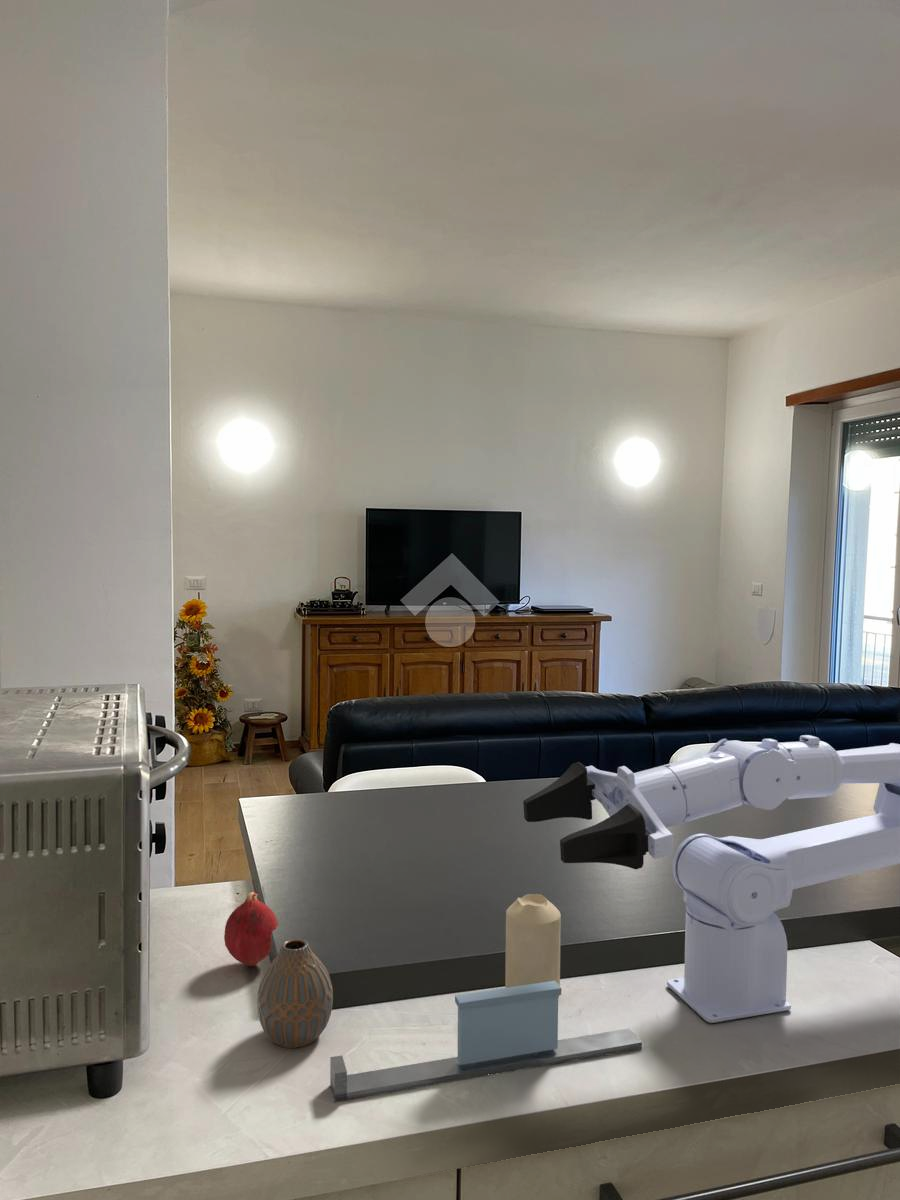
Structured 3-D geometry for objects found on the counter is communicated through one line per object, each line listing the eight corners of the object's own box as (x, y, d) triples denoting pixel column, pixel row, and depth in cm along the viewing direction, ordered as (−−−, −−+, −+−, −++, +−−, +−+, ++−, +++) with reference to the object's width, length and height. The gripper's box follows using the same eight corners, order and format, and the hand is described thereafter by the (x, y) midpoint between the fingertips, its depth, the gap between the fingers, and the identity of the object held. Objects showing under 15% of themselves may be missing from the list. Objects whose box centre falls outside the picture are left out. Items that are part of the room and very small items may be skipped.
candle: (557, 1011, 86) (558, 912, 85) (501, 1005, 87) (502, 907, 86) (561, 984, 91) (562, 890, 90) (509, 979, 92) (510, 886, 91)
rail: (629, 1034, 82) (629, 1009, 81) (641, 1048, 79) (642, 1023, 79) (330, 1084, 74) (330, 1057, 74) (334, 1101, 71) (334, 1073, 71)
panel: (554, 1040, 79) (555, 980, 79) (560, 1049, 78) (561, 988, 77) (454, 1057, 76) (455, 995, 76) (459, 1066, 75) (459, 1003, 75)
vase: (328, 1012, 85) (328, 924, 85) (336, 1052, 79) (336, 957, 78) (256, 1021, 84) (255, 931, 83) (258, 1062, 77) (257, 965, 76)
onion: (279, 976, 92) (279, 902, 92) (223, 981, 91) (222, 906, 91) (278, 951, 98) (278, 881, 98) (225, 956, 97) (224, 885, 96)
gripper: (628, 729, 90) (508, 759, 86) (715, 791, 77) (578, 830, 73) (630, 789, 92) (512, 821, 88) (715, 861, 79) (581, 902, 75)
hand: (542, 830), depth 81 cm, fingers open, 7 cm apart
